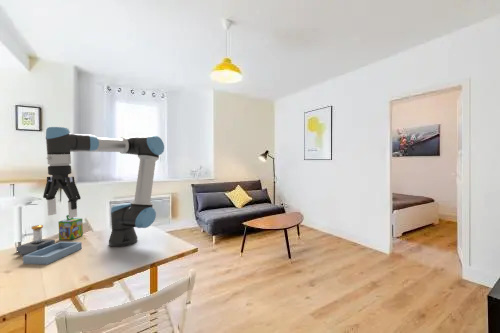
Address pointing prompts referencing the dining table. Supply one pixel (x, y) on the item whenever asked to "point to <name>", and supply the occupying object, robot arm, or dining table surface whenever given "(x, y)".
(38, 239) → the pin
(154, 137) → the robot arm
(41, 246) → the hitch block
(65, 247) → the tray
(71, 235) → the green lunch box
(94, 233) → the dining table surface
